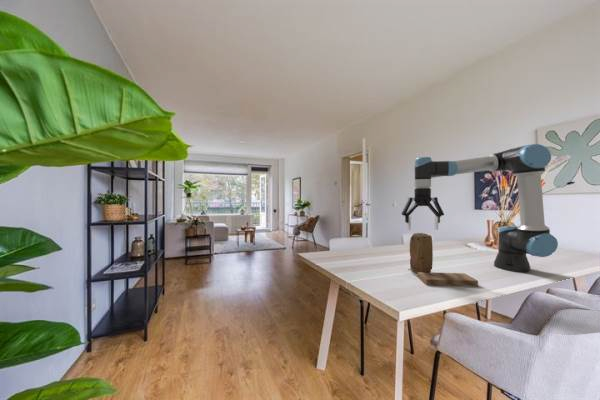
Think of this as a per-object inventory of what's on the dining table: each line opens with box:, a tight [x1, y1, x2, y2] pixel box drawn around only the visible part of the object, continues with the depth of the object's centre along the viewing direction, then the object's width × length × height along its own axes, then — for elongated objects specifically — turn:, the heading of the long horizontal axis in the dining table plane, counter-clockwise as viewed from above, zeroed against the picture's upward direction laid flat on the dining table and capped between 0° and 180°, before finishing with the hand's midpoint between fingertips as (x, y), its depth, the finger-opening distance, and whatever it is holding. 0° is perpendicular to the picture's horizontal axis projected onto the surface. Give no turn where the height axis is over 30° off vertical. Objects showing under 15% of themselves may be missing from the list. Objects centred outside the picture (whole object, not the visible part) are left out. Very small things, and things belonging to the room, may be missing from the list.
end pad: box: [407, 268, 418, 278], centre depth 125 cm, size 9×12×1 cm
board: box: [417, 272, 479, 287], centre depth 113 cm, size 22×10×3 cm, turn 86°
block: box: [409, 232, 434, 273], centre depth 125 cm, size 11×8×20 cm
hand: (422, 229), depth 125 cm, fingers open, 13 cm apart
